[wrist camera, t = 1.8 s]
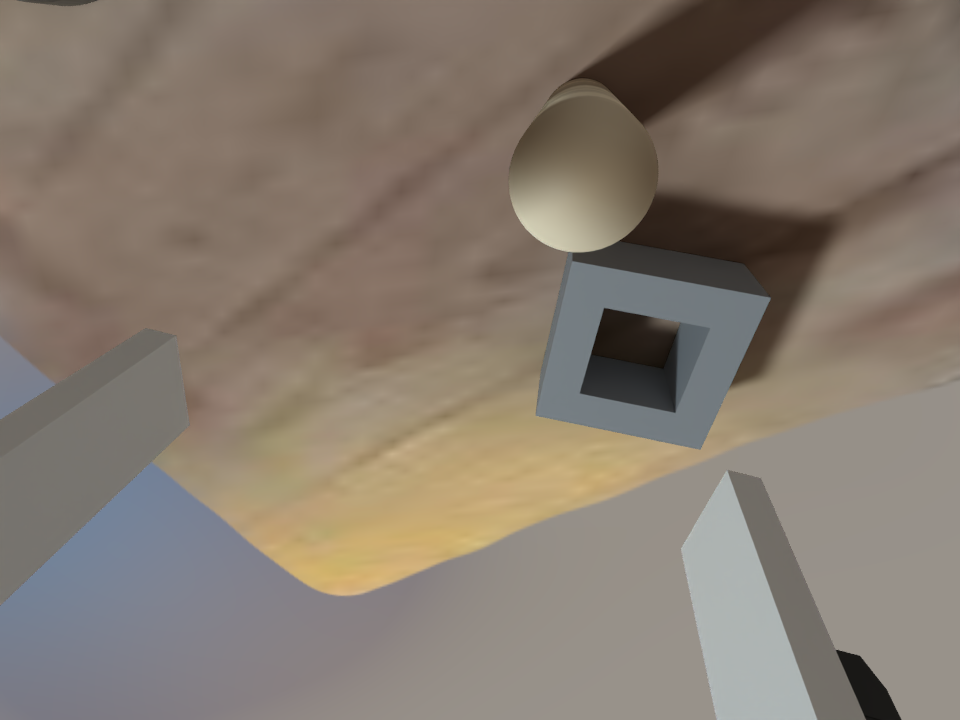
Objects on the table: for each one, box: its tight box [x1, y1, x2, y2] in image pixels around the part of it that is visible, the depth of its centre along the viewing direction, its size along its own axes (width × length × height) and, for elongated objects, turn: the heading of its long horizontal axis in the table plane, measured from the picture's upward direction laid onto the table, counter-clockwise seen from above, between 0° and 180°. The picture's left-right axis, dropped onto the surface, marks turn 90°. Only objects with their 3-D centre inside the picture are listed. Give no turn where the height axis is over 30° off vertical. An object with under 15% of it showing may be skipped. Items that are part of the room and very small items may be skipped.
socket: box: [536, 241, 771, 450], centre depth 31 cm, size 10×10×5 cm
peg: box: [509, 78, 658, 252], centre depth 21 cm, size 4×4×16 cm
